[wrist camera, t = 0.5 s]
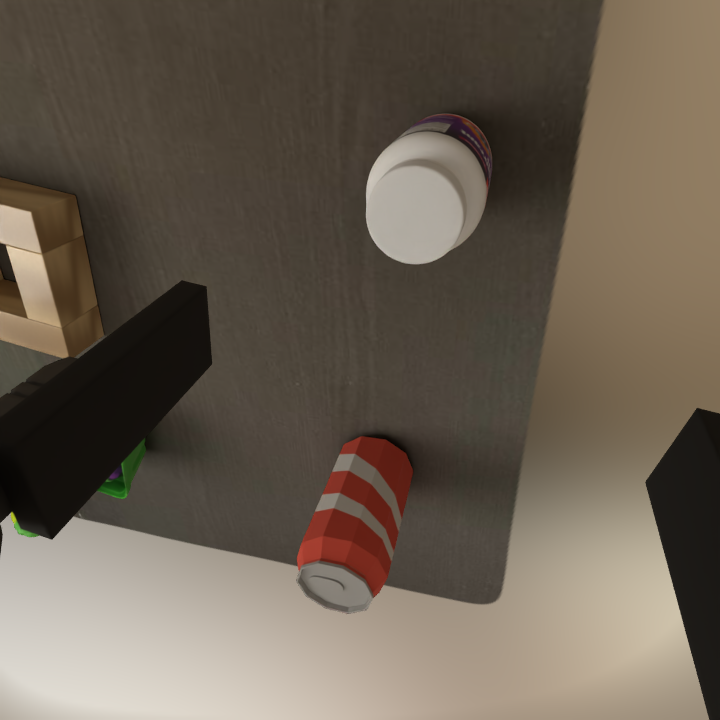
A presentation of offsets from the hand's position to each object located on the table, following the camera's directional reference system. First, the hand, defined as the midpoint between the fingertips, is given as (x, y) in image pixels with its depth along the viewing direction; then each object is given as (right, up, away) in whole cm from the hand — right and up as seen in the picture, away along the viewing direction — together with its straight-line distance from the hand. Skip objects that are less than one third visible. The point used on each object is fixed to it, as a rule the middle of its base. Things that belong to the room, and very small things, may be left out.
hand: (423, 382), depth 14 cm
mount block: (-28, +9, +26) cm, 39 cm away
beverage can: (0, -8, +28) cm, 29 cm away
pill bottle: (+3, +12, +14) cm, 18 cm away
